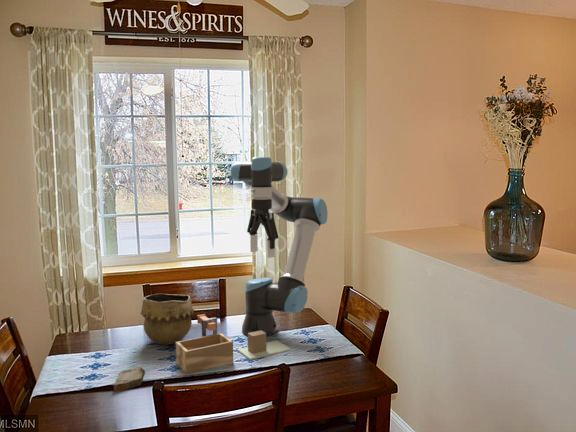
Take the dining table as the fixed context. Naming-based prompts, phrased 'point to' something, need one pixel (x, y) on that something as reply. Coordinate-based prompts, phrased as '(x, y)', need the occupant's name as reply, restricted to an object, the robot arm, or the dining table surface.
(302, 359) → the dining table surface
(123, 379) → the stone
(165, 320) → the clay pot
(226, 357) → the toolbox
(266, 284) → the robot arm
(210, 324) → the key bar
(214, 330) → the staple
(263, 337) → the lid
